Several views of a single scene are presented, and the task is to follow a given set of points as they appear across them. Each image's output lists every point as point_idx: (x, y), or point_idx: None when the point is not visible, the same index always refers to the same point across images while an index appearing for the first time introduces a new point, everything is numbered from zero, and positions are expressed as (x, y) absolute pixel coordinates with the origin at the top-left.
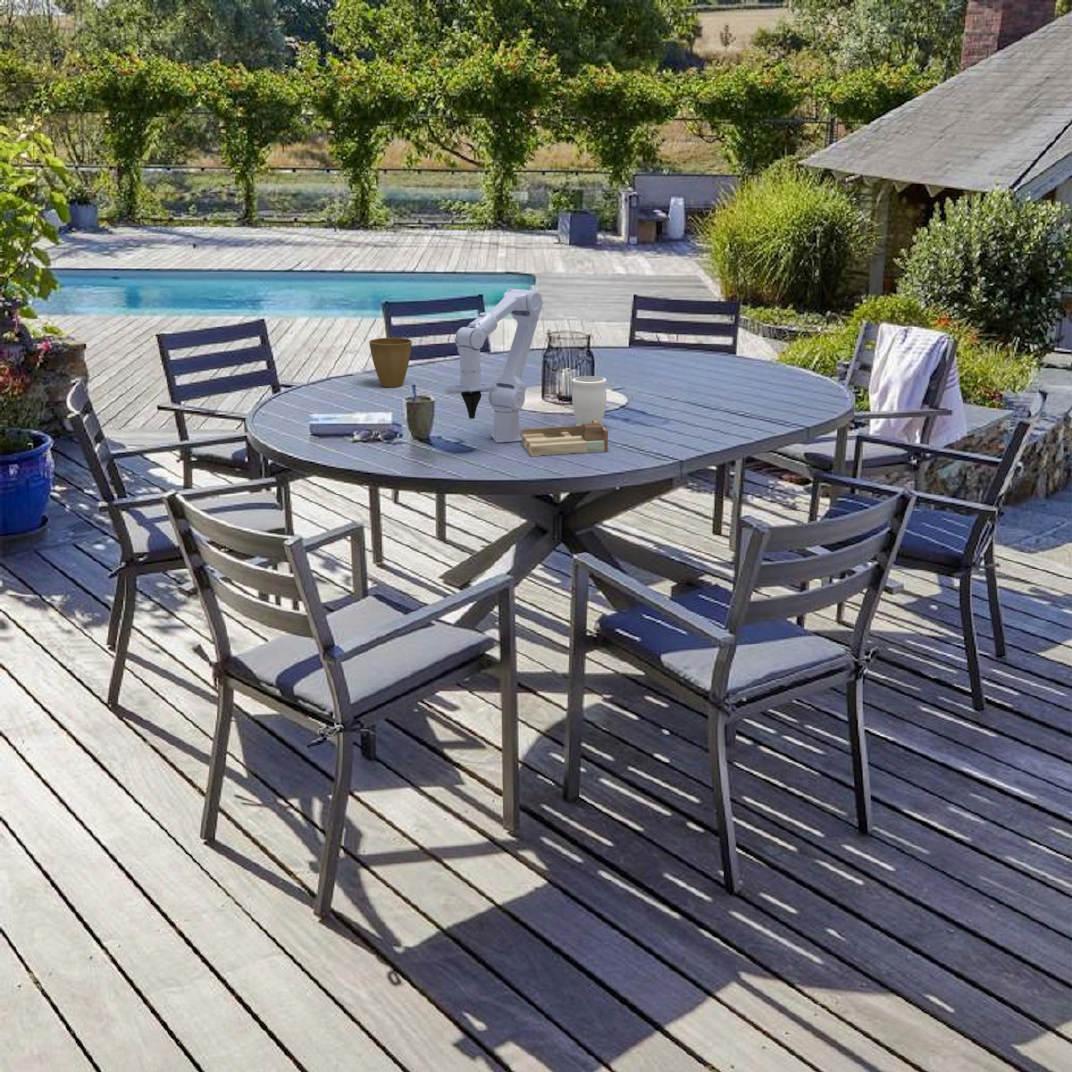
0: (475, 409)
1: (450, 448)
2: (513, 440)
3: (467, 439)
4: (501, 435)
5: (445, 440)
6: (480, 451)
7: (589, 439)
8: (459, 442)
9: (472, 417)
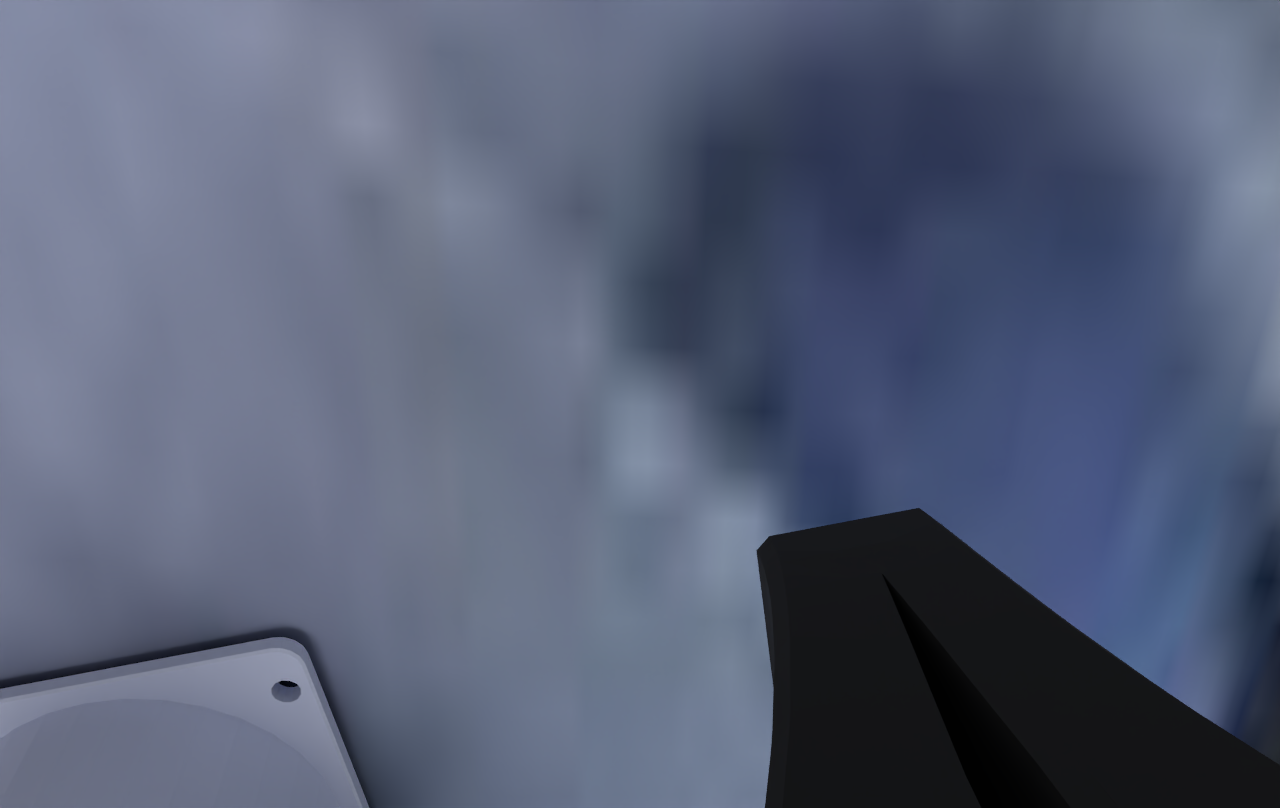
0: (809, 767)
1: (1039, 369)
2: (14, 693)
3: (738, 797)
4: (201, 766)
5: None
6: (541, 142)
7: None
8: None
9: (850, 535)
